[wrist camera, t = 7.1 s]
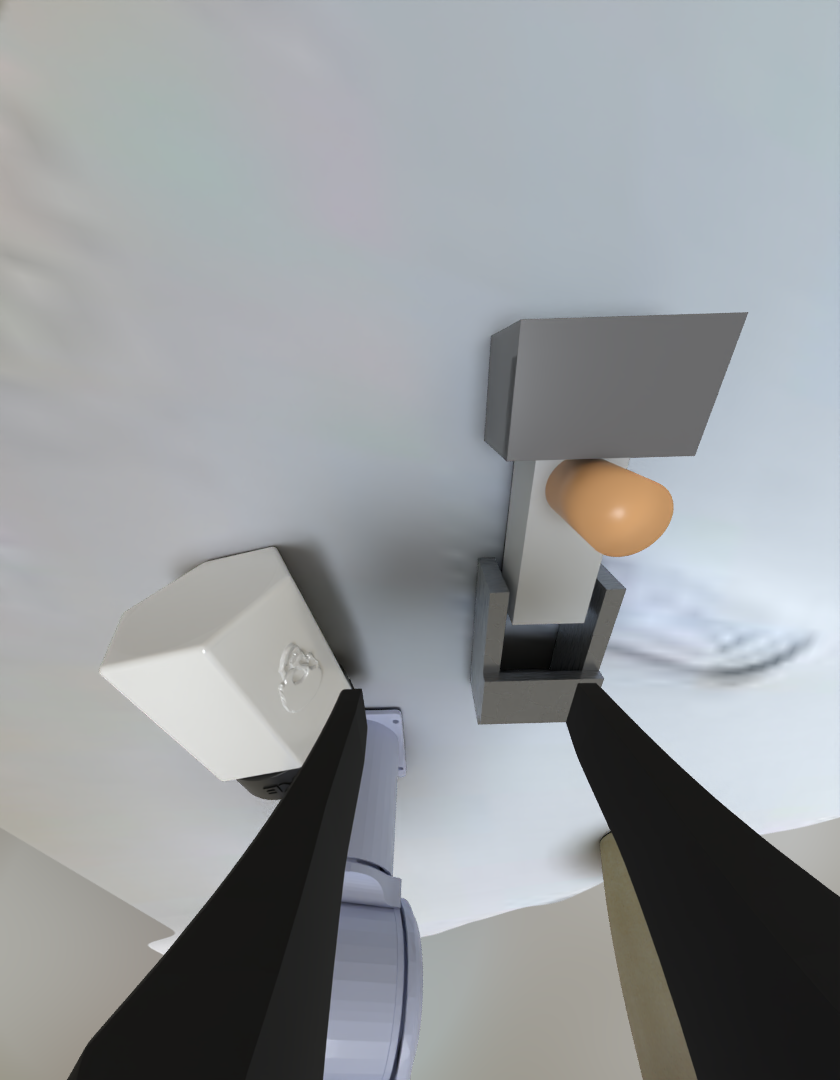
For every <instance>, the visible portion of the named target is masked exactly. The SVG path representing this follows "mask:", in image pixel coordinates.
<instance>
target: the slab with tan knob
mask: <svg viewBox="0 0 840 1080" xmlns="http://www.w3.org/2000/svg"><path fill="white" fill-rule="evenodd" d="M629 460H630V458H604V459H571V460H537V461H514V470H513V479H512V488H511V497H510V506H509V515H508V523H507V532H506V541H505V550H504V559H503V568H502V576H503V578H504V580H505V583H506V585H507V587H508V590H509V592H510V594H509V601H508V609H507V612H508V615H509V617H510V620H511V622H512V625H530V624H566V623H584V621H585V617H586V614H587V610H588V607H589V603H590V600H591V596H592V592H593V589H594V585H595V582H596V578H597V574H598V571H599V567H600V564H601V560H602V557H603V555H607V556H612V557H622V556H628V555H632V554H635V553H637V552H640V551H642V550H644V549H645V548H647V547H649V546H650V545H651V544H653V543H654V542H655V541H656V540H657V539H658V538H659V537H660V536H661V535H662V534H663V533H664V531H665V530H666V529H667V527H668V525H669V523H670V521H671V518H672V515H673V500H672V497H671V495H670V493H669V491H668V490H667V489H666V488H665V487H664V486H662V485H661V484H659V483H657V482H655V481H652V480H650V479H648V478H645V477H643V476H641V475H639V474H636V473H634V472H632V471H629V470H627V467H628V463H629Z"/></svg>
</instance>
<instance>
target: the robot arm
mask: <svg viewBox="0 0 840 1080" xmlns="http://www.w3.org/2000/svg"><path fill="white" fill-rule="evenodd" d="M566 724H567V727H568V730H569V733H570V736H571V740H572V743H573V745H574V748H575V751H576V754H577V757H578V759H579V762H580V764H581V766H582V768H583V771H584V773H585V775H586V777H587V780H588V782H589V784H590V786H591V788H592V791H593V793H594V795H595V797H596V800H597V802H598V804H599V806H600V808H601V811H602V813H603V815H604V817H605V819H606V822H607V824H608V826H609V828H610V830H611V833H612V835H613V837H614V839H615V841H616V844H617V846H618V849H619V851H620V853H621V856H622V858H623V861H624V863H625V866H626V868H627V871H628V874H629V876H630V879H631V882H632V885H633V887H634V890H635V893H636V895H637V898H638V901H639V904H640V906H641V909H642V912H643V915H644V918H645V920H646V923H647V926H648V929H649V932H650V935H651V938H652V941H653V943H654V946H655V949H656V952H657V955H658V958H659V961H660V964H661V967H662V970H663V973H664V976H665V979H666V982H667V985H668V988H669V991H670V994H671V997H672V1000H673V1003H674V1006H675V1009H676V1012H677V1015H678V1018H679V1021H680V1025H681V1028H682V1031H683V1035H684V1038H685V1041H686V1044H687V1048H688V1051H689V1054H690V1057H691V1061H692V1064H693V1067H694V1070H695V1074H696V1077H697V1080H840V897H839V896H838V895H837V894H835V893H834V892H832V891H831V890H830V889H828V888H827V887H826V886H825V885H823V884H822V883H821V882H819V881H818V880H817V879H815V878H814V877H813V876H811V875H810V874H809V873H808V872H806V871H805V870H804V869H802V868H801V867H800V866H798V865H797V864H795V863H794V862H793V861H792V860H790V859H789V858H788V857H787V856H785V855H784V854H783V853H781V852H780V851H779V850H777V849H776V848H775V847H774V846H772V845H771V844H770V843H769V842H767V841H766V840H765V839H764V838H762V837H761V836H760V835H759V834H757V833H756V832H755V831H754V830H753V829H751V828H750V827H749V826H748V825H747V824H745V823H744V822H743V821H742V820H741V819H739V818H738V817H737V816H736V815H735V814H733V813H732V812H731V811H730V810H729V809H727V808H726V807H725V806H724V805H723V804H722V803H720V802H719V801H718V800H717V799H716V798H715V797H713V796H712V795H711V794H710V793H709V792H708V791H707V790H706V789H704V788H703V787H702V786H701V785H700V784H699V783H698V782H697V781H696V780H695V779H693V778H692V777H691V776H690V775H689V774H688V773H687V772H686V771H685V770H684V769H683V768H681V767H680V766H679V765H678V764H677V763H676V762H675V761H674V760H673V759H672V758H671V757H670V756H669V755H668V754H667V753H666V752H665V751H664V750H663V749H661V748H660V747H659V746H658V745H657V744H656V743H655V742H654V741H653V740H652V739H651V738H650V737H649V736H648V735H647V734H646V733H645V732H644V731H643V730H642V729H641V728H640V727H639V726H638V725H637V724H636V723H635V722H634V721H633V720H632V719H631V718H630V717H629V716H628V715H627V714H626V713H625V712H624V711H623V710H622V709H621V708H620V707H619V706H618V705H617V704H616V703H615V702H614V701H613V700H612V699H611V697H610V696H609V695H608V694H607V693H606V692H605V691H604V690H603V689H602V688H601V687H600V686H599V685H598V684H597V683H578V684H577V687H576V690H575V694H574V697H573V700H572V704H571V707H570V710H569V713H568V717H567V720H566ZM404 776H406V759H405V747H404V736H403V724H402V713H401V712H400V711H399V710H365V706H364V700H363V693H362V689H343V690H342V691H341V692H340V694H339V697H338V699H337V701H336V703H335V705H334V707H333V710H332V712H331V714H330V716H329V718H328V720H327V722H326V724H325V725H324V727H323V729H322V731H321V733H320V735H319V737H318V739H317V740H316V742H315V744H314V746H313V747H312V749H311V751H310V753H309V755H308V756H307V758H306V760H305V762H304V763H303V765H302V767H301V768H300V770H299V772H298V773H297V775H296V776H295V778H294V780H293V781H292V783H291V785H290V786H289V788H288V789H287V791H286V793H285V794H284V796H283V797H282V799H281V801H280V802H279V804H278V805H277V807H276V808H275V810H274V811H273V813H272V814H271V816H270V817H269V819H268V820H267V822H266V823H265V824H264V826H263V827H262V829H261V830H260V832H259V833H258V835H257V836H256V837H255V839H254V840H253V842H252V843H251V844H250V846H249V847H248V849H247V850H246V851H245V853H244V854H243V855H242V857H241V858H240V859H239V861H238V862H237V863H236V865H235V866H234V868H233V869H232V870H231V872H230V873H229V874H228V876H227V877H226V878H225V880H224V881H223V882H222V883H221V885H220V886H219V887H218V889H217V890H216V891H215V893H214V894H213V895H212V896H211V898H210V899H209V900H208V901H207V903H206V904H205V905H204V906H203V908H202V909H201V910H200V911H199V913H198V914H197V915H196V916H195V918H194V919H193V920H192V921H191V922H190V924H189V925H188V926H187V927H186V929H185V930H184V931H183V932H182V934H181V935H180V936H179V937H178V939H177V940H176V941H175V942H174V944H173V945H172V946H171V947H170V948H169V950H168V951H167V952H166V953H165V954H164V956H163V957H162V958H161V959H160V960H159V962H158V963H157V964H156V965H155V966H154V968H153V969H152V970H151V971H150V972H149V973H148V974H147V976H146V977H145V978H144V979H143V980H142V981H141V982H140V984H139V985H138V986H137V987H136V988H135V989H134V991H133V992H132V993H131V994H130V995H129V996H128V998H127V999H126V1000H125V1001H124V1002H123V1003H122V1004H121V1006H120V1007H119V1008H118V1009H117V1010H116V1011H115V1012H114V1014H113V1015H112V1016H111V1017H110V1018H109V1019H108V1020H107V1022H106V1023H105V1024H104V1025H103V1026H102V1027H101V1029H100V1030H99V1031H98V1032H97V1033H96V1034H95V1035H94V1037H93V1038H92V1039H91V1040H90V1042H89V1043H88V1044H87V1046H86V1047H85V1049H84V1051H83V1053H82V1054H81V1056H80V1058H79V1060H78V1062H77V1063H76V1065H75V1067H74V1069H73V1071H72V1072H71V1074H70V1076H69V1077H68V1079H67V1080H410V1077H411V1070H412V1065H413V1062H414V1058H415V1054H416V1050H417V1045H418V1039H419V1032H420V1023H421V1013H422V996H423V962H422V949H421V940H420V933H419V928H418V925H417V921H416V919H415V917H414V915H413V912H412V908H411V906H410V904H409V902H408V901H407V900H406V899H404V898H401V879H400V878H396V877H393V859H394V838H395V817H396V796H397V777H404Z"/></svg>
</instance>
